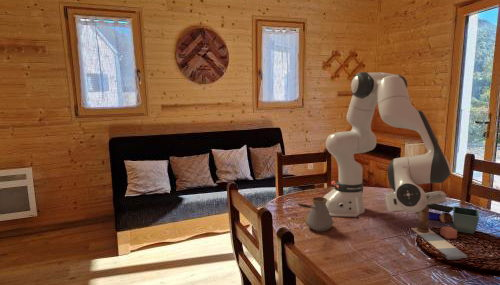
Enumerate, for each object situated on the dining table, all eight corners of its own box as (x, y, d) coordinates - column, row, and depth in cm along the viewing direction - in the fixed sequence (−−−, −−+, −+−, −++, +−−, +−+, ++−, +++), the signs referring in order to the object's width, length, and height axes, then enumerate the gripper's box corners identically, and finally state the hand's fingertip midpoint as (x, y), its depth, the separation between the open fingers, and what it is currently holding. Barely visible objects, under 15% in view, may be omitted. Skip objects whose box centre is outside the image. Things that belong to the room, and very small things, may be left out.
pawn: (420, 233, 134) (422, 207, 133) (414, 228, 139) (416, 203, 137) (431, 232, 135) (433, 206, 133) (424, 228, 139) (426, 202, 137)
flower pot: (477, 238, 131) (479, 216, 129) (451, 233, 136) (452, 212, 134) (476, 230, 138) (478, 209, 137) (451, 225, 143) (453, 205, 141)
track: (447, 259, 116) (448, 257, 116) (410, 230, 140) (410, 228, 139) (467, 258, 116) (467, 255, 116) (426, 229, 140) (426, 227, 140)
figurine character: (413, 220, 153) (449, 227, 141) (412, 204, 152) (448, 209, 141) (419, 216, 157) (455, 222, 146) (418, 200, 157) (454, 205, 145)
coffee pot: (315, 220, 152) (315, 188, 150) (337, 227, 144) (338, 194, 142) (286, 235, 137) (286, 201, 135) (309, 244, 130) (309, 207, 127)
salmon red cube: (446, 241, 130) (447, 231, 129) (440, 236, 134) (440, 227, 133) (456, 240, 130) (457, 230, 129) (449, 235, 134) (450, 226, 133)
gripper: (443, 185, 114) (444, 190, 125) (381, 195, 123) (387, 198, 134) (449, 203, 112) (449, 206, 123) (385, 212, 121) (391, 214, 132)
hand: (416, 202), depth 129 cm, fingers closed
